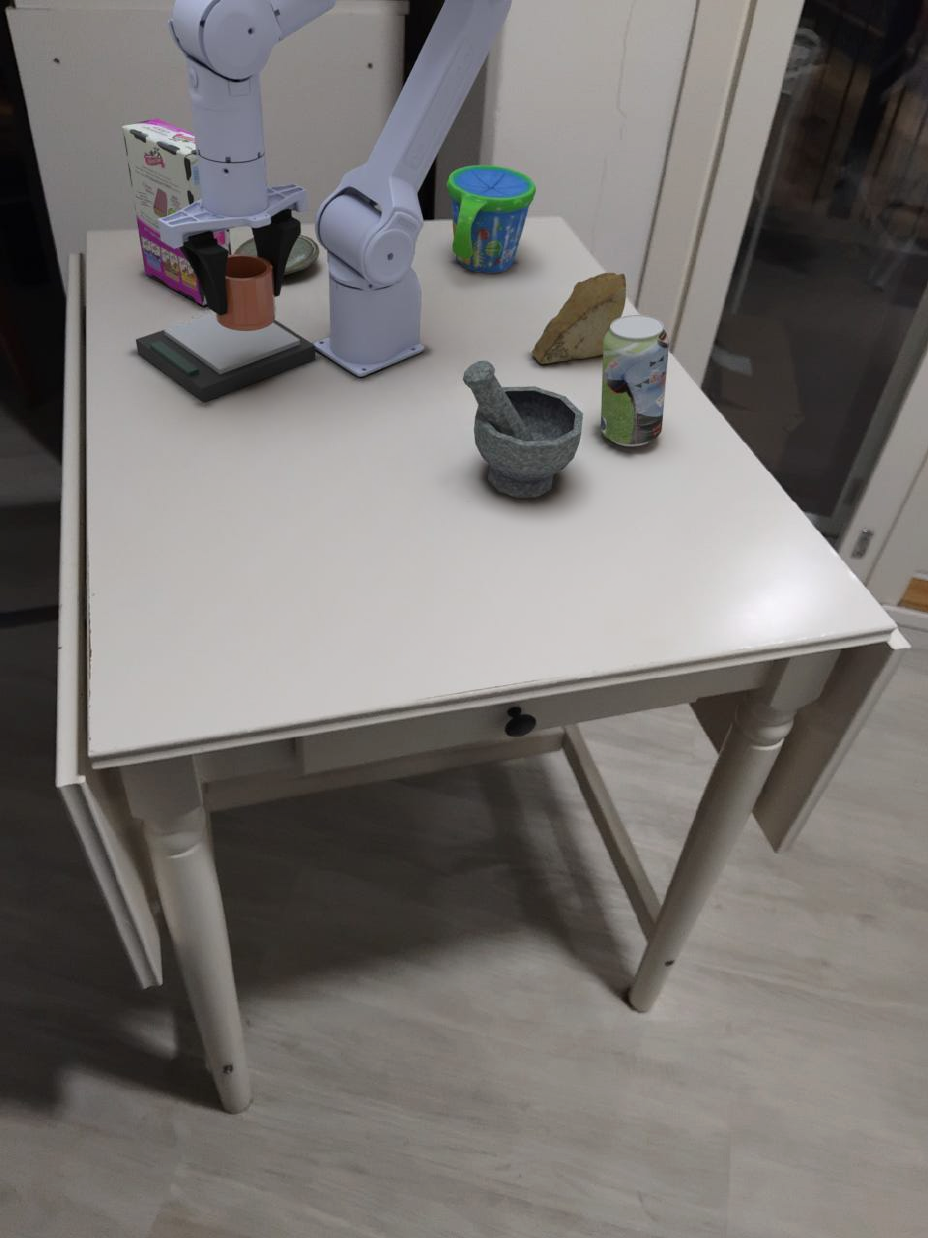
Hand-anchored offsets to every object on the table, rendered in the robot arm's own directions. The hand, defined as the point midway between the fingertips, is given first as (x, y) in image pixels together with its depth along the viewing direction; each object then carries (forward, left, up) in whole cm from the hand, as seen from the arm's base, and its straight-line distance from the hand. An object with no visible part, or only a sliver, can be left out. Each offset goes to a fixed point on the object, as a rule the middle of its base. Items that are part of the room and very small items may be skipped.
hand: (244, 301), depth 90 cm
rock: (-32, +16, -9) cm, 37 cm away
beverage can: (-23, +30, -9) cm, 39 cm away
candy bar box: (-7, -22, -9) cm, 25 cm away
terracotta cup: (0, 0, -2) cm, 2 cm away
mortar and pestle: (-9, +28, -9) cm, 31 cm away
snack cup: (-40, -6, -9) cm, 42 cm away
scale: (-1, -6, -9) cm, 11 cm away
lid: (-18, -20, -9) cm, 29 cm away
